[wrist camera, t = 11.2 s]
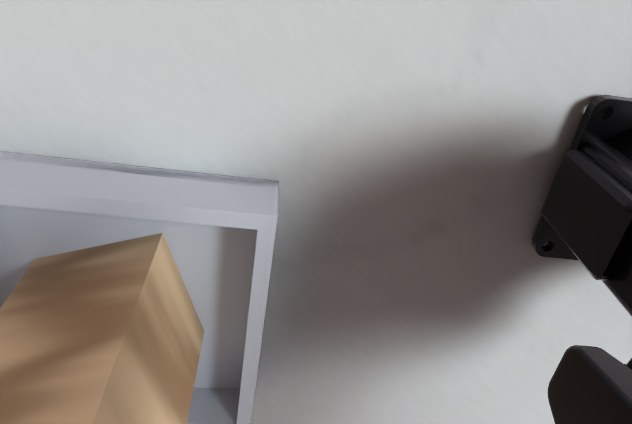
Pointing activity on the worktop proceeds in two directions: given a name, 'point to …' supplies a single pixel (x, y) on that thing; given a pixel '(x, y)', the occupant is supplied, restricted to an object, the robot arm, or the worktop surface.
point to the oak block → (100, 338)
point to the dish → (184, 243)
